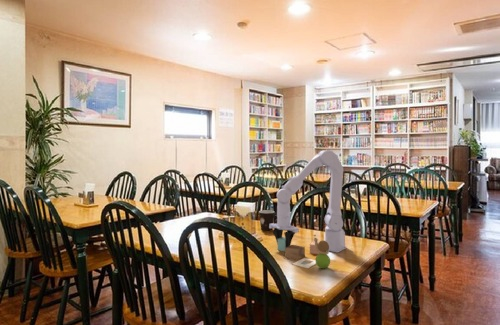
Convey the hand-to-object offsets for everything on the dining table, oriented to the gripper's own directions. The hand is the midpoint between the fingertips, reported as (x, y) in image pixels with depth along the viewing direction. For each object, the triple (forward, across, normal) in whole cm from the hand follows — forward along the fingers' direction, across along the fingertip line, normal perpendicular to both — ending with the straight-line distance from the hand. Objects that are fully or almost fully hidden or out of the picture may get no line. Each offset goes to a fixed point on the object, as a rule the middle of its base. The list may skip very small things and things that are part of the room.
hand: (283, 246), depth 151 cm
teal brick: (+1, 0, 0) cm, 1 cm away
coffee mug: (+2, -27, +24) cm, 36 cm away
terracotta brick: (+2, +13, +5) cm, 14 cm away
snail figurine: (+2, +24, -10) cm, 26 cm away
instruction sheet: (+1, +17, -10) cm, 20 cm away
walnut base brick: (+2, +9, -5) cm, 10 cm away
